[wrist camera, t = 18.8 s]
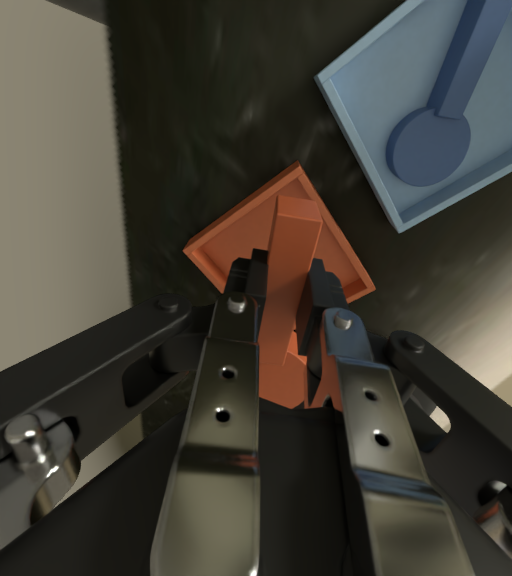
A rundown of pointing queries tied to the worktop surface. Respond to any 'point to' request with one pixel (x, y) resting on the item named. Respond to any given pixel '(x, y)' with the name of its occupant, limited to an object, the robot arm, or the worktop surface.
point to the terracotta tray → (256, 230)
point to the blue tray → (418, 104)
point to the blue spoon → (447, 101)
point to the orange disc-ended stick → (286, 299)
